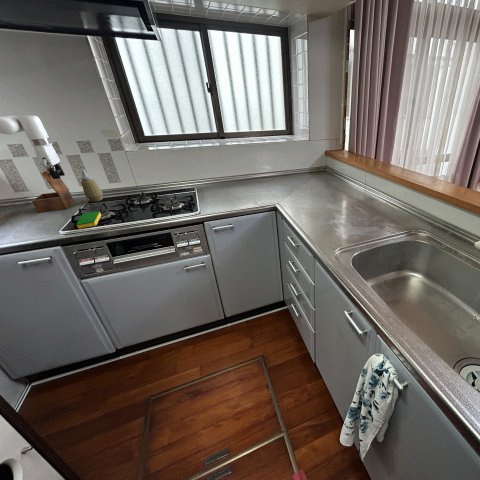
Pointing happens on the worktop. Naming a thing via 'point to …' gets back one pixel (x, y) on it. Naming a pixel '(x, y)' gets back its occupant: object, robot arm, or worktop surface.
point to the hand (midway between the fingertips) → (59, 176)
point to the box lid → (55, 183)
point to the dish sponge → (89, 219)
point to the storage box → (52, 202)
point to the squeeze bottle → (91, 188)
